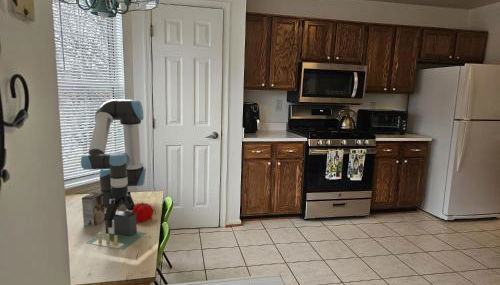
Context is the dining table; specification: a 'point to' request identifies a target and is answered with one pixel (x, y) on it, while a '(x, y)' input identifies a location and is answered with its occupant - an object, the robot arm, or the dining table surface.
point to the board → (115, 240)
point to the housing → (123, 223)
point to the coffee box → (93, 209)
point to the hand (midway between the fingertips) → (120, 227)
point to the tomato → (143, 212)
